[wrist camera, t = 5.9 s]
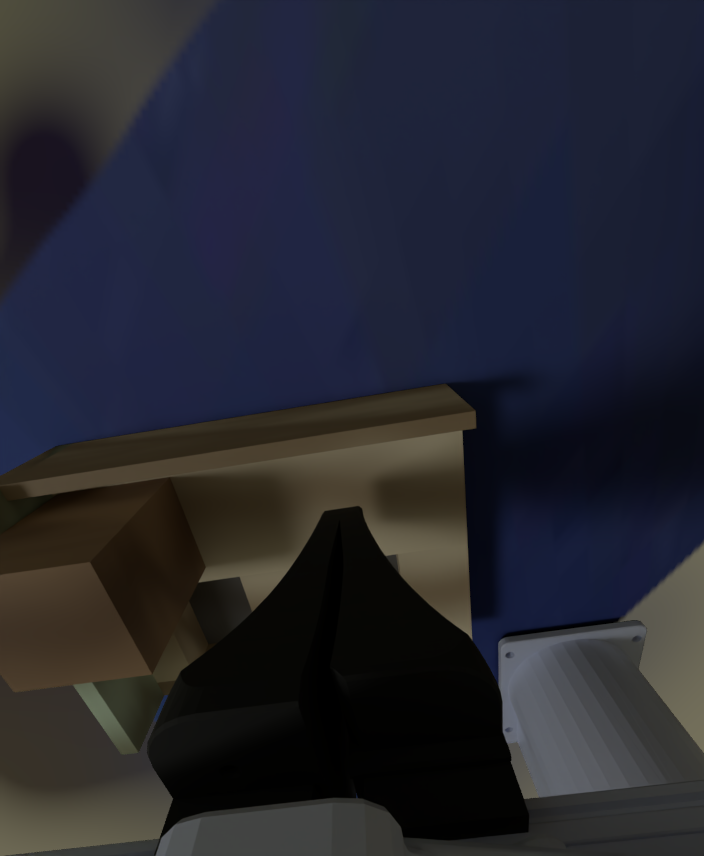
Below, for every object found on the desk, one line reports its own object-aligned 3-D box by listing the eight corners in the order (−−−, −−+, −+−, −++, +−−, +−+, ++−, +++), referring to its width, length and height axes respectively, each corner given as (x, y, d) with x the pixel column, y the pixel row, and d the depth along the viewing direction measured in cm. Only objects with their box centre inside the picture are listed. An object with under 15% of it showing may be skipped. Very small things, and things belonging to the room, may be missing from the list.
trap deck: (460, 620, 19) (491, 709, 15) (167, 659, 20) (121, 754, 16) (445, 383, 14) (486, 420, 10) (55, 446, 15) (-54, 504, 11)
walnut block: (205, 567, 15) (152, 674, 11) (105, 581, 15) (14, 692, 11) (169, 477, 13) (89, 562, 9) (57, 493, 13) (-72, 584, 9)
